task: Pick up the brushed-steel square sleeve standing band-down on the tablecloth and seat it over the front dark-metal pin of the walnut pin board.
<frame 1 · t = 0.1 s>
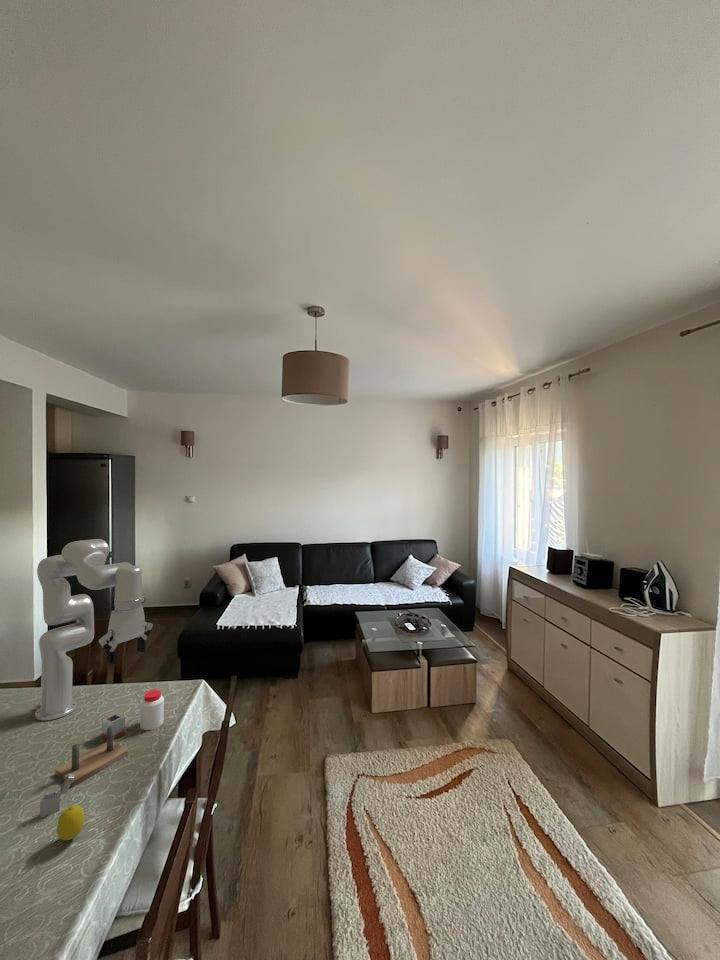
hand: (126, 656, 130), 31 cm above the table, fingers open, 9 cm apart
sleeve: (113, 735, 138), on the table
pin board: (93, 764, 124), on the table
grey flat piece: (57, 810, 107), on the table
lemon: (70, 839, 98), on the table
pill bottle: (151, 724, 145), on the table
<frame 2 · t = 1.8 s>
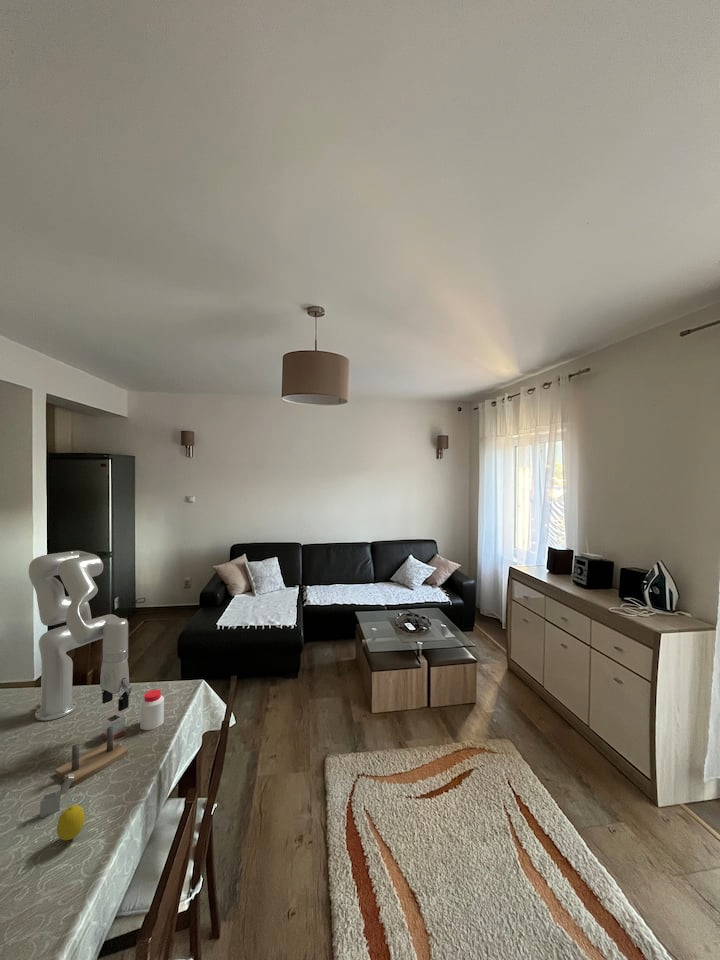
hand: (115, 705, 137), 11 cm above the table, fingers open, 9 cm apart
nothing on the table moved.
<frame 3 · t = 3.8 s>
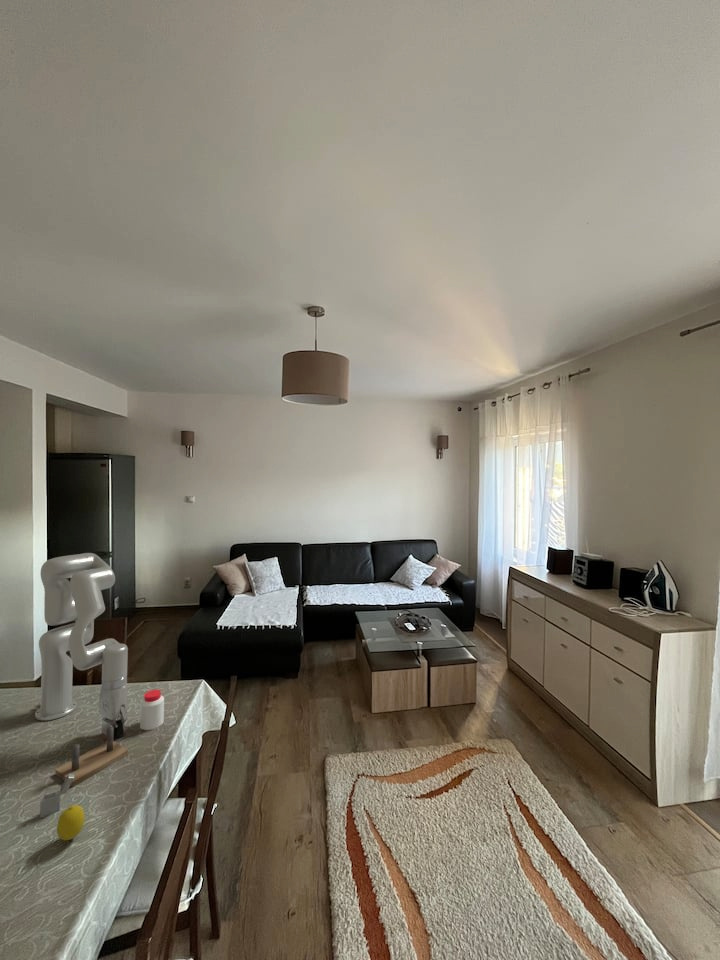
hand: (113, 733, 138), 1 cm above the table, fingers closed on sleeve, 5 cm apart
sleeve: (113, 735, 138), on the table, touching gripper
everything else where it was.
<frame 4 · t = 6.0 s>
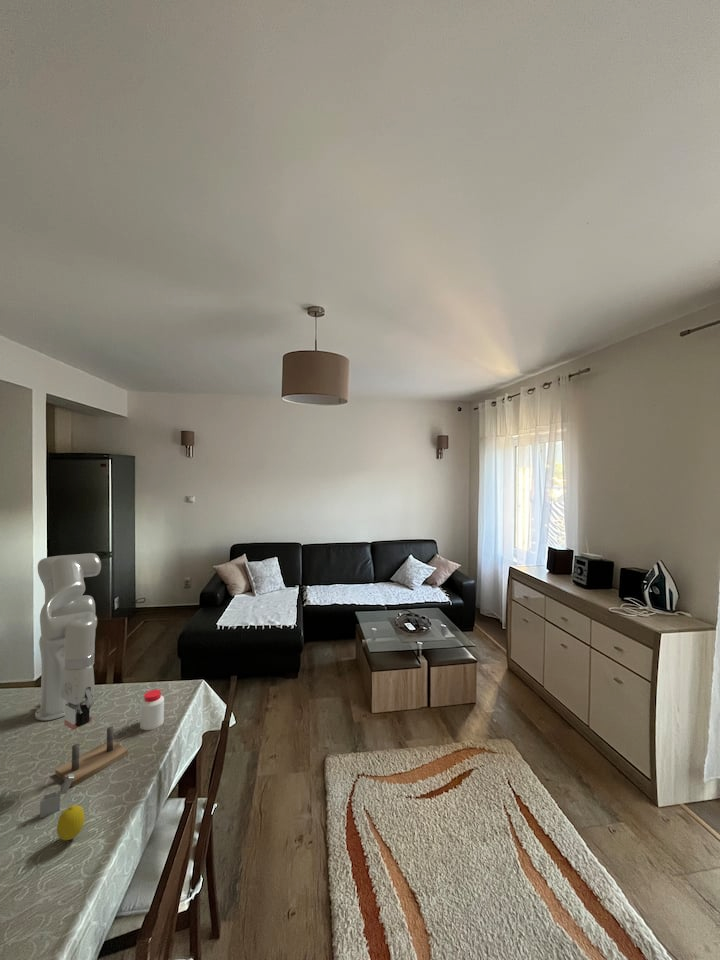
hand: (77, 720, 120), 16 cm above the table, fingers closed on sleeve, 5 cm apart
sleeve: (78, 722, 120), point 15 cm above the table, touching gripper
everything else where it was.
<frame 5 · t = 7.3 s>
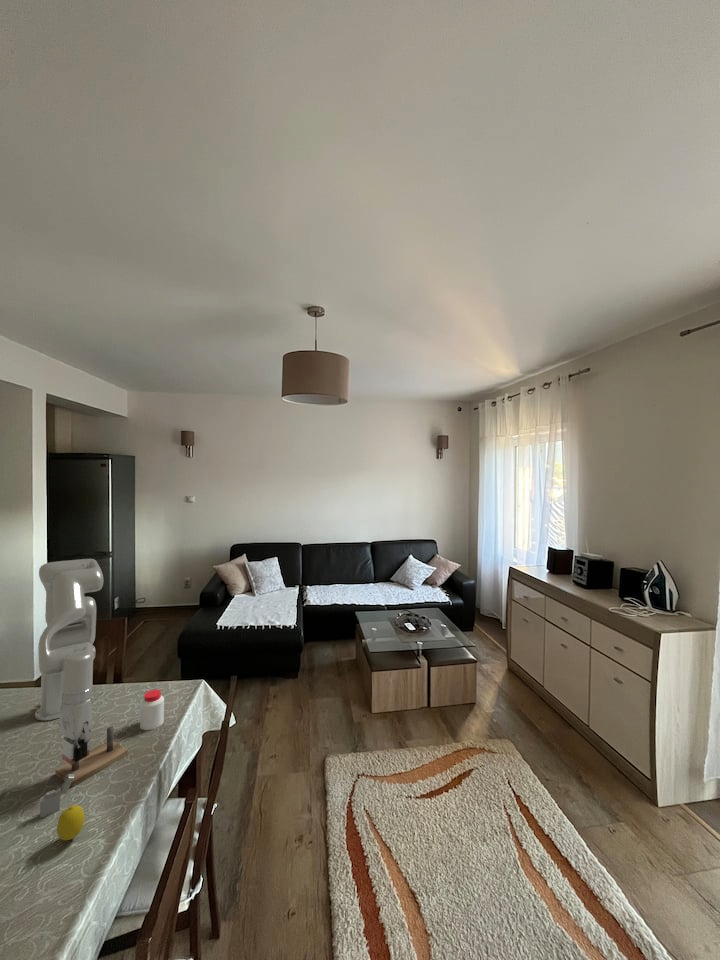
hand: (75, 754, 119), 6 cm above the table, fingers closed on sleeve, 5 cm apart
sleeve: (75, 756, 119), point 5 cm above the table, touching gripper
everything else where it was.
when the fingers open (3 cm above the table, at t = 8.5 s): sleeve drops 1 cm, resting on pin board.
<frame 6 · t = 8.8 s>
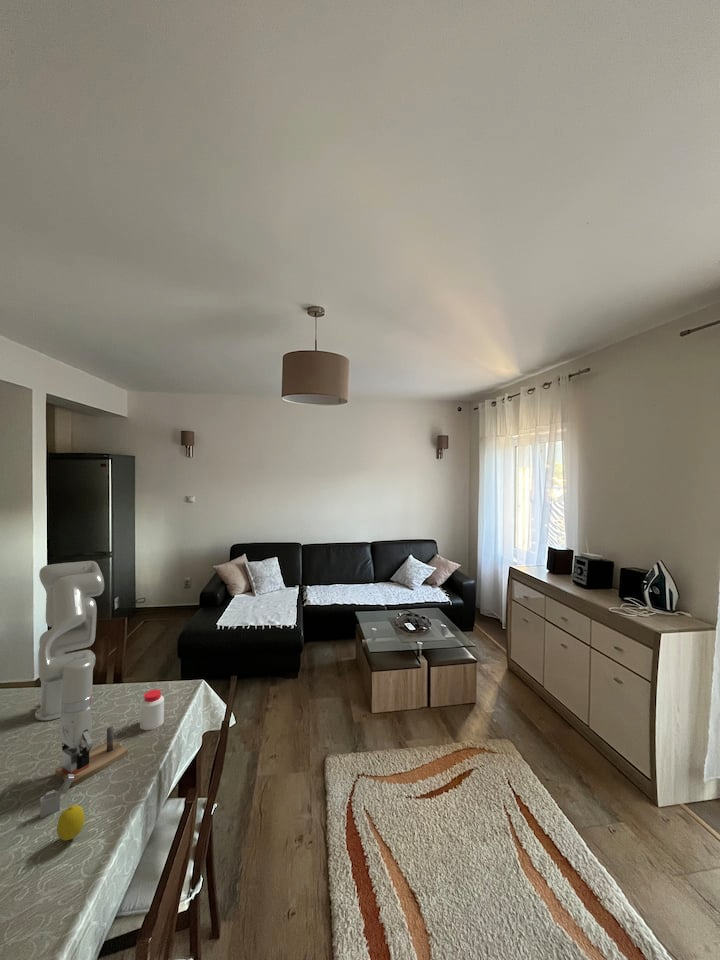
hand: (75, 761, 119), 4 cm above the table, fingers open, 7 cm apart
sleeve: (75, 768, 119), point 1 cm above the table, touching pin board
everything else where it was.
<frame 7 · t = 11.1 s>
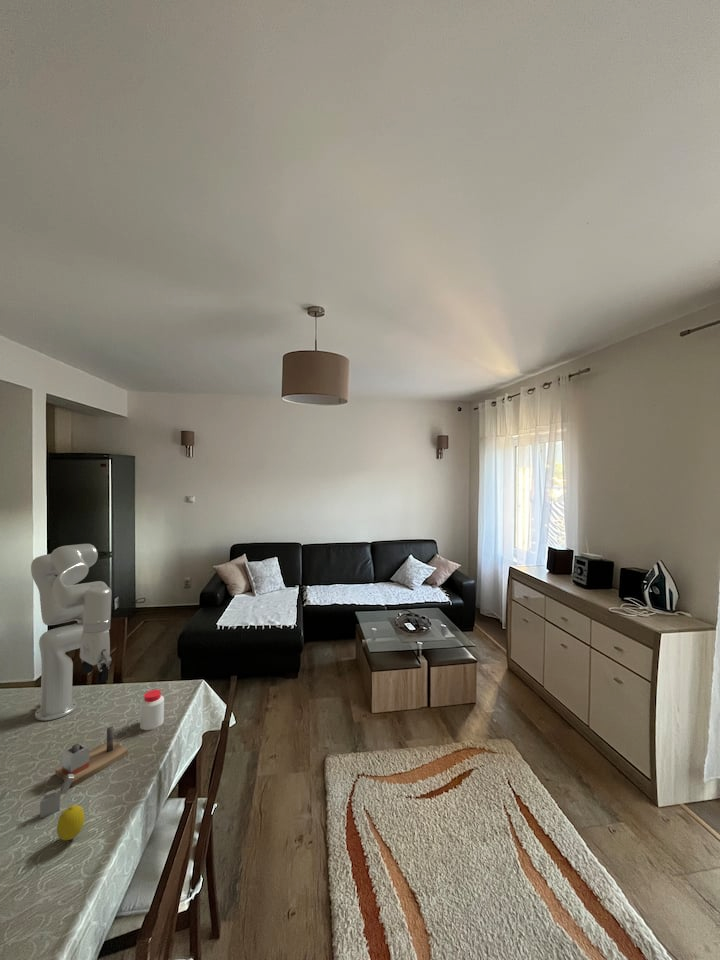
hand: (94, 677, 130), 24 cm above the table, fingers open, 9 cm apart
nothing on the table moved.
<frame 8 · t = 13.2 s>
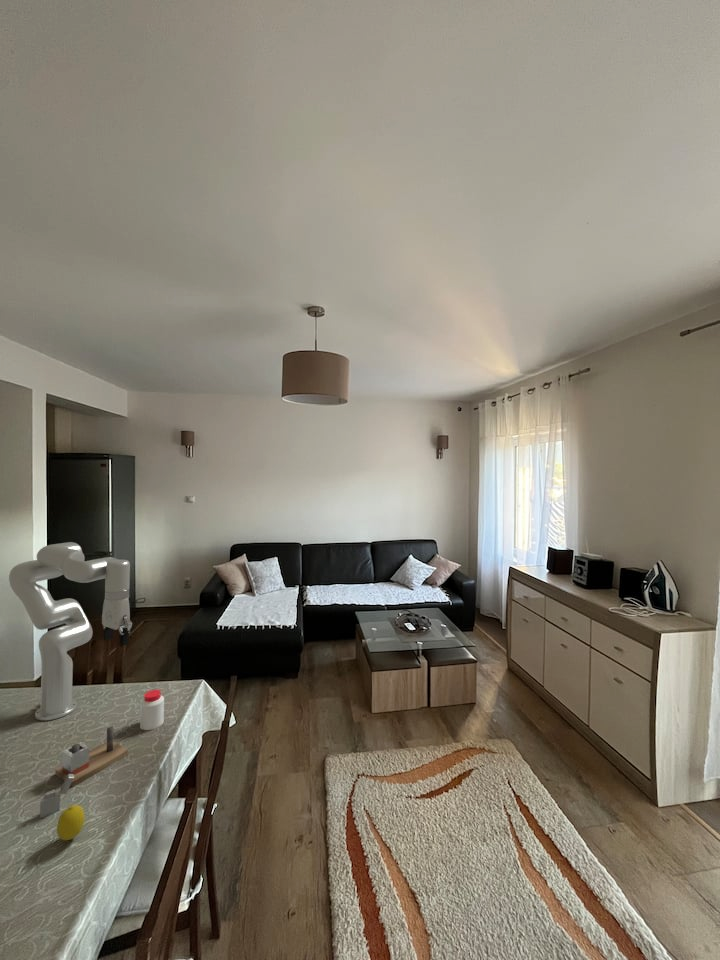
hand: (116, 642, 143), 30 cm above the table, fingers open, 9 cm apart
nothing on the table moved.
at the end: sleeve 0.1 cm from the target spot on the pin board, point 1.5 cm above the pin board's base; sleeve tilted 0°; the gripper is holding nothing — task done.
